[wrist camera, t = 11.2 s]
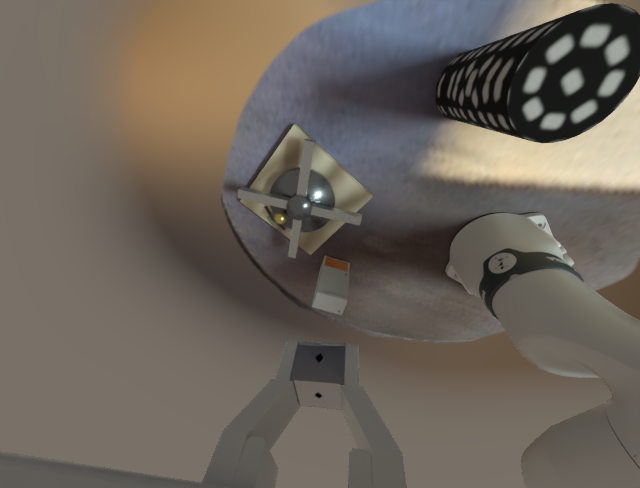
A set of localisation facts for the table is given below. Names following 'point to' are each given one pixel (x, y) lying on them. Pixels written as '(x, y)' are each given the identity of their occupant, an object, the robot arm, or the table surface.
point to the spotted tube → (547, 76)
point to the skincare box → (332, 286)
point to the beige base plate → (290, 155)
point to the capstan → (301, 199)
